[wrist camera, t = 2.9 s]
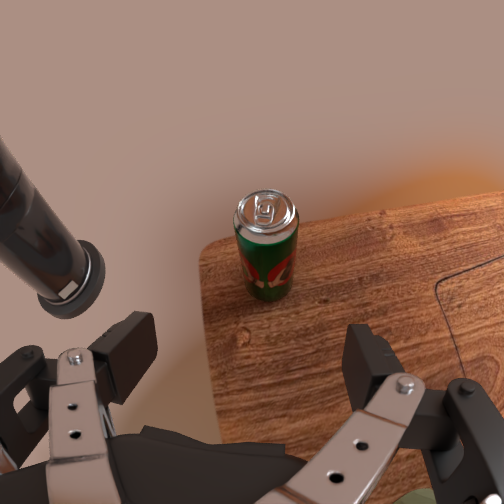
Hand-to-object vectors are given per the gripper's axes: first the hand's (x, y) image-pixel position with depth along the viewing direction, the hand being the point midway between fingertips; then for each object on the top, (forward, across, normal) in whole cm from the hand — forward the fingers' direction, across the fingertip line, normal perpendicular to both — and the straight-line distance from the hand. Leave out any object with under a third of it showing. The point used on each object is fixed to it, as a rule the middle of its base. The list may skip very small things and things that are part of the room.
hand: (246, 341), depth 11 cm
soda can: (+20, 0, +4) cm, 21 cm away
